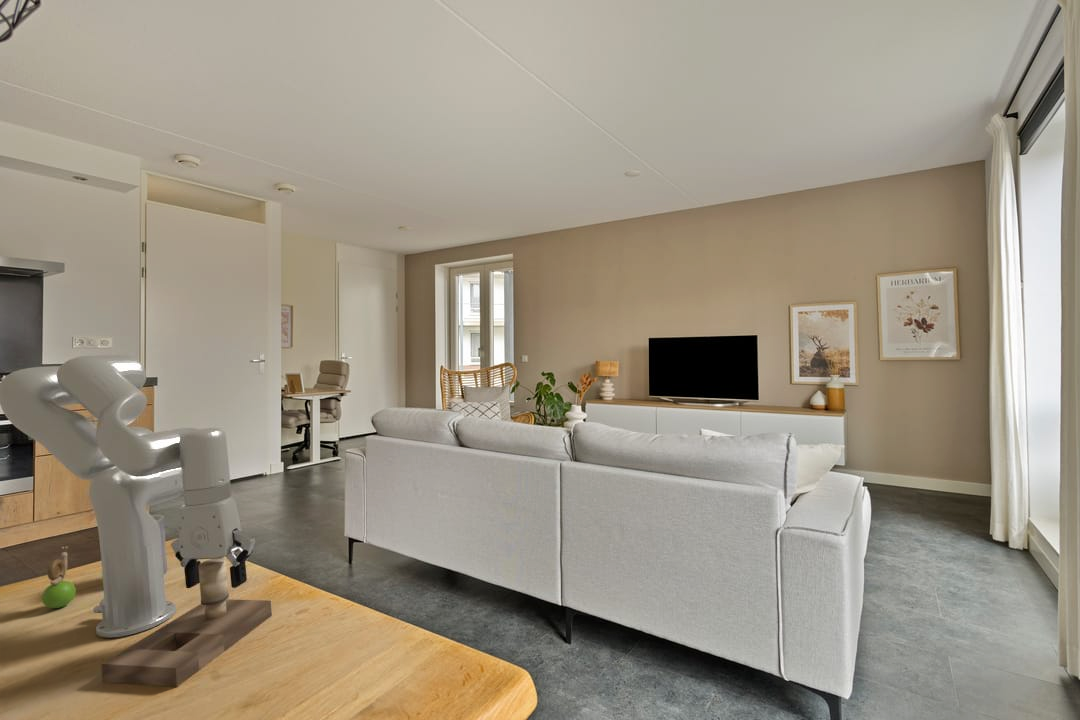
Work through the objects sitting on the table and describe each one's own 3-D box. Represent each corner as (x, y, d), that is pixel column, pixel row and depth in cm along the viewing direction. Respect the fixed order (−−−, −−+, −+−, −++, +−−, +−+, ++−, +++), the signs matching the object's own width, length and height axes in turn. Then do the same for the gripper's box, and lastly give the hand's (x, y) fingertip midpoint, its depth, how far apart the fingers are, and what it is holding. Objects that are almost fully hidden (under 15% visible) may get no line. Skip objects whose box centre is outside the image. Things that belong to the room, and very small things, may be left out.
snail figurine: (84, 596, 119) (79, 544, 118) (68, 609, 113) (64, 554, 112) (54, 601, 117) (49, 548, 117) (37, 615, 111) (32, 558, 111)
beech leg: (196, 620, 98) (192, 567, 98) (215, 608, 102) (211, 557, 102) (217, 621, 97) (213, 567, 97) (235, 609, 102) (231, 557, 101)
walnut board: (102, 682, 85) (101, 663, 85) (210, 613, 107) (209, 598, 107) (177, 686, 83) (175, 668, 83) (271, 615, 105) (270, 600, 104)
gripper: (151, 502, 97) (160, 594, 97) (233, 499, 94) (242, 594, 94) (185, 491, 104) (193, 576, 105) (262, 487, 101) (271, 575, 102)
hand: (216, 584), depth 99 cm, fingers open, 9 cm apart
